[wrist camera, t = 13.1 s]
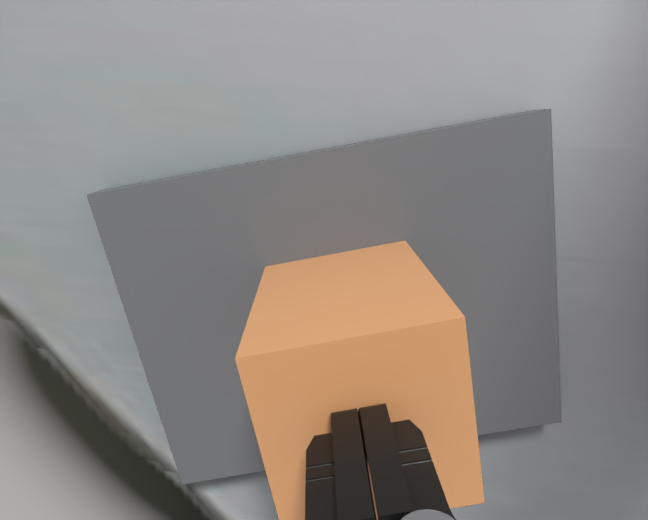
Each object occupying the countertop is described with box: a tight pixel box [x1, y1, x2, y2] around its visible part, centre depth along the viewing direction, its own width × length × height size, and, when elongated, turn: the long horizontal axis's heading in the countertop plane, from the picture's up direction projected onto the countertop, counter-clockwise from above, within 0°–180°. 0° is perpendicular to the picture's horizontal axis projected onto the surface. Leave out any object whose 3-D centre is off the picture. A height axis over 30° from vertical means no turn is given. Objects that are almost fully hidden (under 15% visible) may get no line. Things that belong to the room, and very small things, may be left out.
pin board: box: [87, 109, 561, 484], centre depth 17 cm, size 18×14×7 cm
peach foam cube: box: [235, 241, 485, 520], centre depth 16 cm, size 6×6×8 cm
